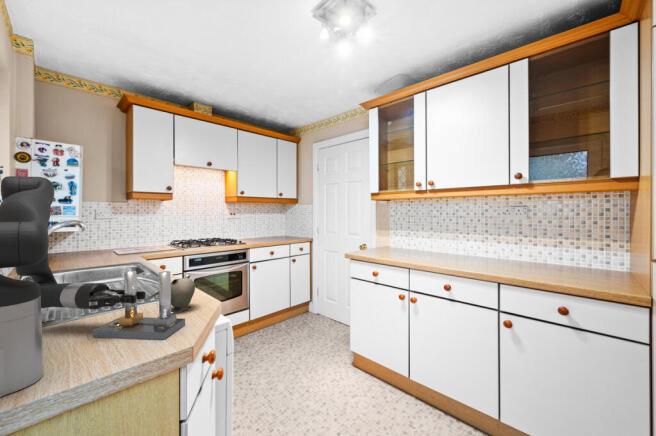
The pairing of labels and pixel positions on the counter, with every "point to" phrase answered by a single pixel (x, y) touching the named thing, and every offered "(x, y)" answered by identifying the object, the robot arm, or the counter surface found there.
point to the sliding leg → (130, 308)
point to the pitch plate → (147, 319)
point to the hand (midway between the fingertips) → (139, 297)
